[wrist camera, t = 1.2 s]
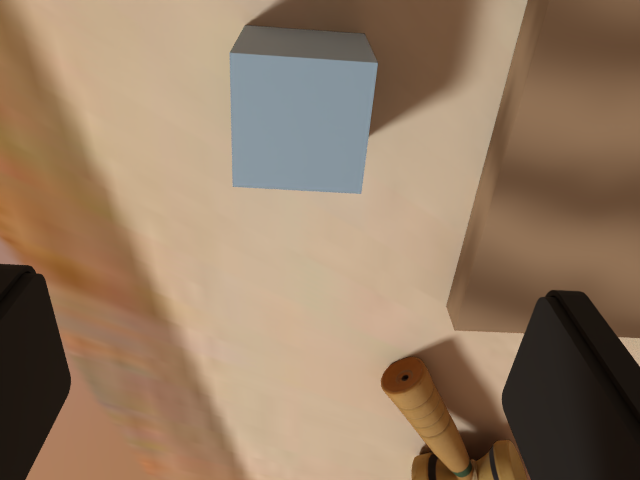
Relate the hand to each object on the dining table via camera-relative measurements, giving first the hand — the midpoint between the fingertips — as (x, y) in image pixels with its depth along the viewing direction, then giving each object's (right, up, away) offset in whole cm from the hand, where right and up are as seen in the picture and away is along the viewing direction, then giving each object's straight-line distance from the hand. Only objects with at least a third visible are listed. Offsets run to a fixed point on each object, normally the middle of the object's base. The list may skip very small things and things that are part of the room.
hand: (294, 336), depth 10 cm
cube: (0, +9, +13) cm, 15 cm away
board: (+15, +5, +15) cm, 22 cm away
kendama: (+10, -12, +27) cm, 31 cm away
